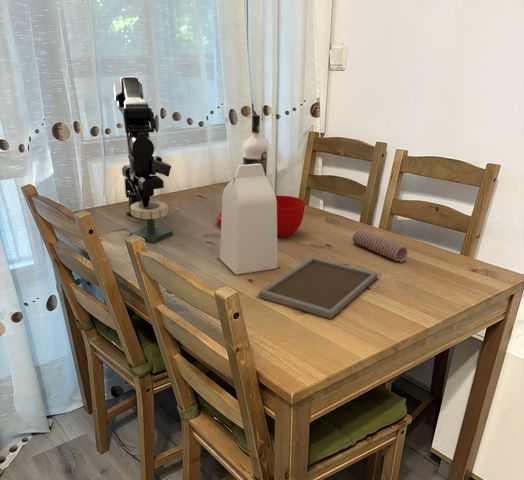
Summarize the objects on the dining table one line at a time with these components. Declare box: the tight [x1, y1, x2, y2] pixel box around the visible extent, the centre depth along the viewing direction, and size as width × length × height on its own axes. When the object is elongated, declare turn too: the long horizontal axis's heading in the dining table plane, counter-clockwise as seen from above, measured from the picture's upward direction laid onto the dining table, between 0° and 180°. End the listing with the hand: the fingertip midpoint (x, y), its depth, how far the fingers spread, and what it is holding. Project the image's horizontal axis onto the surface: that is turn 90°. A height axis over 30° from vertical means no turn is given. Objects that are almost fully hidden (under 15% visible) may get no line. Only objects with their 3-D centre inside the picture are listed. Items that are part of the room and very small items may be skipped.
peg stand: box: [129, 208, 173, 244], centre depth 164 cm, size 9×9×8 cm
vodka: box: [242, 114, 269, 177], centre depth 185 cm, size 9×9×30 cm
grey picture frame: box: [258, 256, 378, 320], centre depth 139 cm, size 19×2×30 cm
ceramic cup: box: [275, 195, 306, 238], centre depth 170 cm, size 13×17×10 cm
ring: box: [129, 200, 169, 220], centre depth 162 cm, size 10×10×2 cm
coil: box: [352, 228, 408, 263], centre depth 159 cm, size 5×5×18 cm
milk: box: [219, 164, 279, 275], centre depth 144 cm, size 12×12×26 cm
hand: (144, 205), depth 165 cm, fingers closed on ring, 2 cm apart
